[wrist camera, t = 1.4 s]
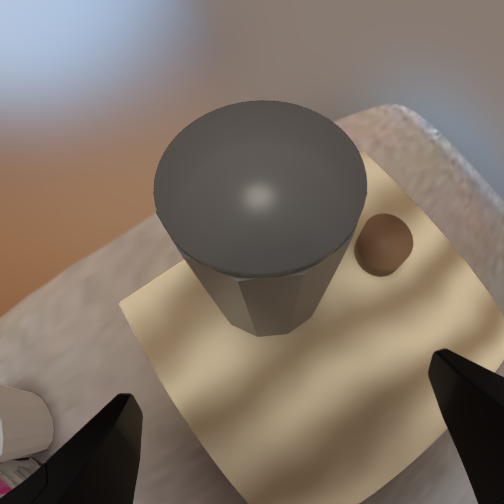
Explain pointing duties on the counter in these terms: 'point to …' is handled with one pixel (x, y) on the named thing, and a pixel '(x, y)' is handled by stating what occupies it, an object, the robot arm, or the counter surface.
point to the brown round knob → (383, 245)
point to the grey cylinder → (262, 208)
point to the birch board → (322, 366)
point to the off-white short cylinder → (23, 423)
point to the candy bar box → (15, 472)
